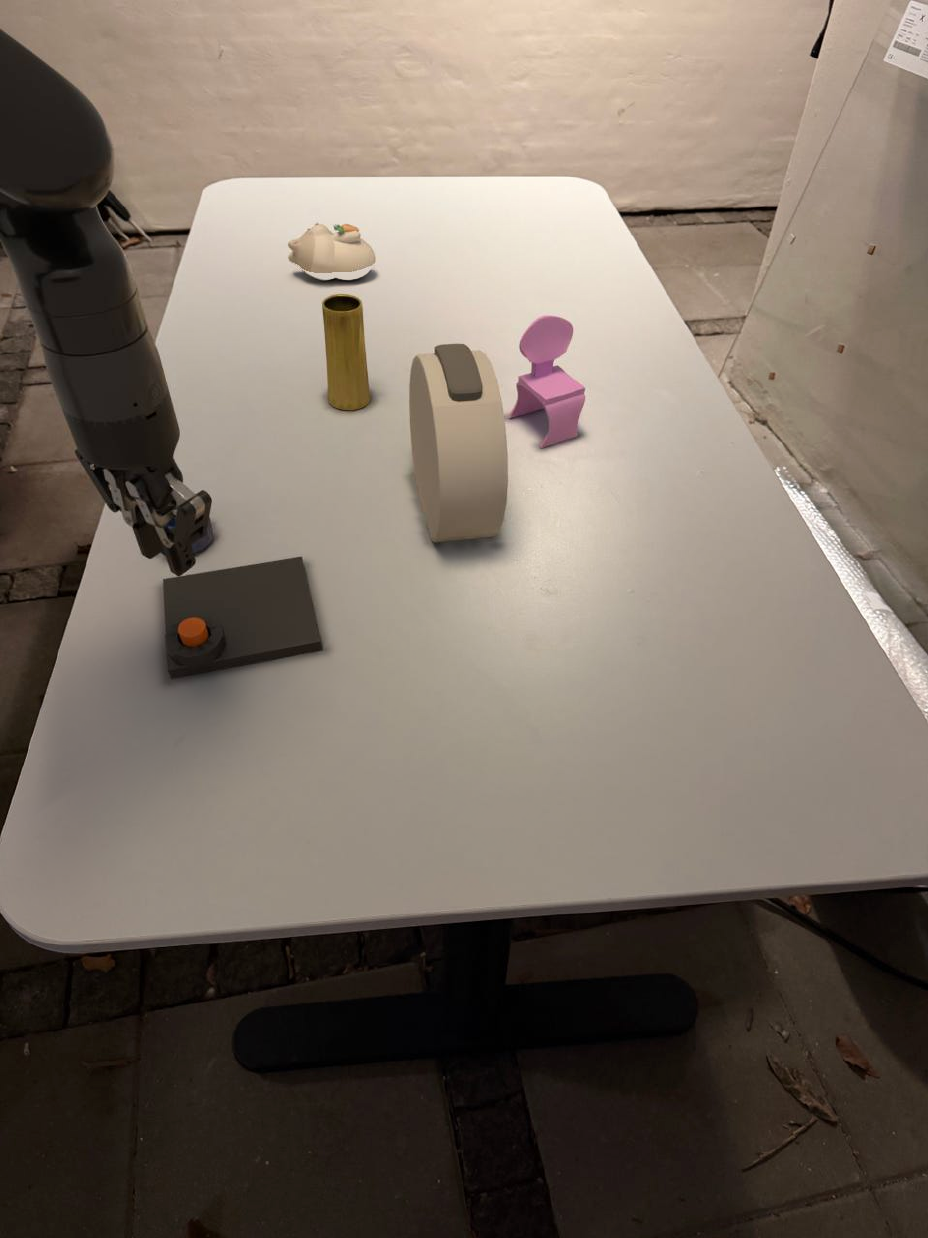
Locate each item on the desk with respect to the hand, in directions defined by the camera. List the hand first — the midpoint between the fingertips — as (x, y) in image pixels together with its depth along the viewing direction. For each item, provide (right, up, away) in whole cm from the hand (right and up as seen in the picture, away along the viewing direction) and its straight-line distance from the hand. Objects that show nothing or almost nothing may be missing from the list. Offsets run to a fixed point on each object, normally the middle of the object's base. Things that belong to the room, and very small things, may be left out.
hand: (169, 560), depth 69 cm
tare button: (0, -7, +8) cm, 11 cm away
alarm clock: (+25, +9, +28) cm, 38 cm away
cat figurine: (+3, +55, +68) cm, 88 cm away
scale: (+3, -5, +13) cm, 14 cm away
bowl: (-6, +4, +21) cm, 22 cm away
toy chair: (+37, +22, +40) cm, 59 cm away
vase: (+10, +26, +42) cm, 51 cm away
